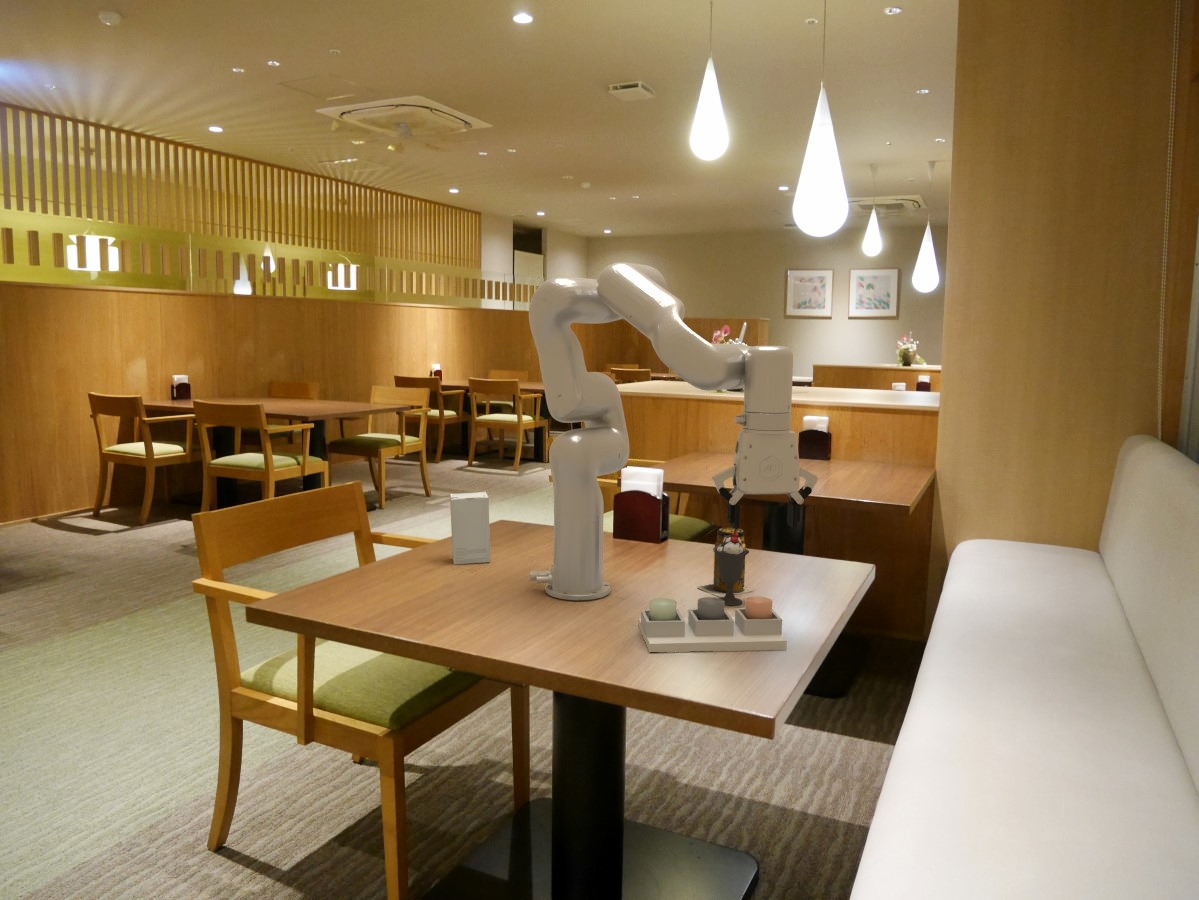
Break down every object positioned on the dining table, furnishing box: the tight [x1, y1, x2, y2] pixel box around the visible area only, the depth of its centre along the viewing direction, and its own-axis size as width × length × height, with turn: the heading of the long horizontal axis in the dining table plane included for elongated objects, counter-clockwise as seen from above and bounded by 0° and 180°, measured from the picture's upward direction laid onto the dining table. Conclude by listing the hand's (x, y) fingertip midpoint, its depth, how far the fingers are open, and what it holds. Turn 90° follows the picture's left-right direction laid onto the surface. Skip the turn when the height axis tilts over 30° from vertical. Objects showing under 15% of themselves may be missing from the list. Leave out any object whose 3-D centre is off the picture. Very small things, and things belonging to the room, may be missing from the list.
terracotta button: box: [744, 595, 773, 619], centre depth 142 cm, size 4×4×3 cm
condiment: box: [697, 527, 754, 598], centre depth 169 cm, size 7×8×12 cm
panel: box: [638, 607, 788, 653], centre depth 142 cm, size 22×12×4 cm, turn 95°
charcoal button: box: [696, 596, 726, 620], centre depth 141 cm, size 4×4×3 cm
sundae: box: [712, 529, 750, 607], centre depth 160 cm, size 7×7×15 cm
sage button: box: [648, 597, 677, 621], centre depth 140 cm, size 4×4×3 cm
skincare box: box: [449, 491, 492, 566], centre depth 187 cm, size 8×6×15 cm
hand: (763, 527), depth 141 cm, fingers open, 9 cm apart
